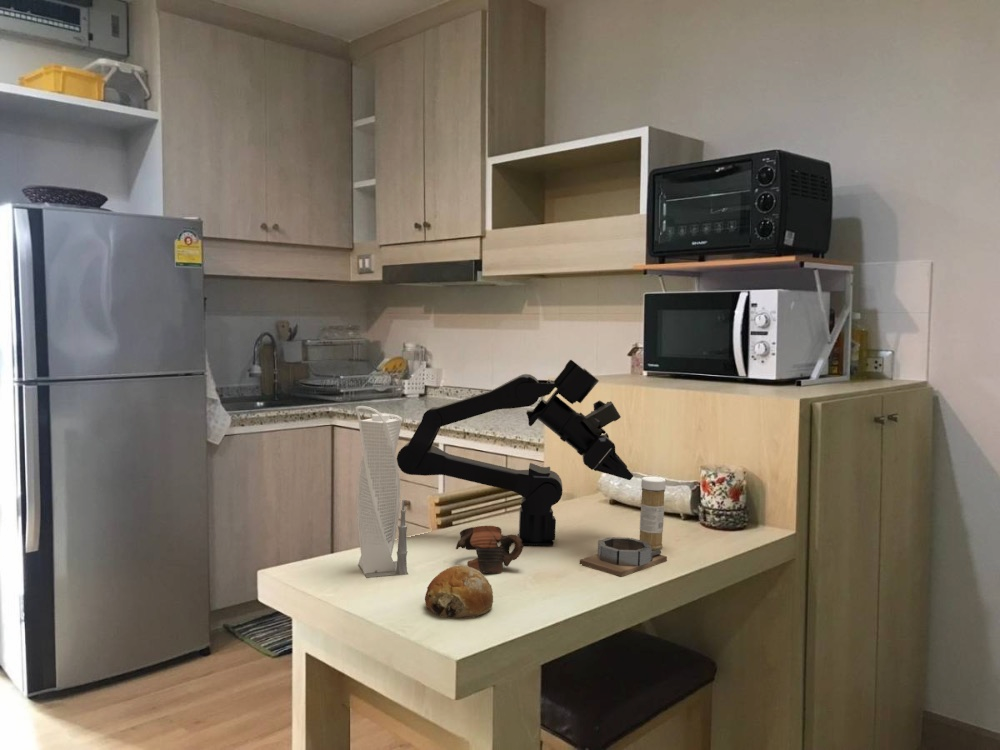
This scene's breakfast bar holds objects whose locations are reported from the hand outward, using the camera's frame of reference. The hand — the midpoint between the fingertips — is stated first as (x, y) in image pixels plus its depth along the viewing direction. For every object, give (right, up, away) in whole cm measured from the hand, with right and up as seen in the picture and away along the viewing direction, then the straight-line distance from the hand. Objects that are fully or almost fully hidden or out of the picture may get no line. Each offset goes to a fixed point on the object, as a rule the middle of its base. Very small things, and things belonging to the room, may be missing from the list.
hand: (628, 473), depth 155 cm
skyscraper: (-45, -14, -18) cm, 51 cm away
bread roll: (-31, -16, -35) cm, 49 cm away
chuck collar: (-2, -14, -9) cm, 17 cm away
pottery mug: (-26, -15, -15) cm, 34 cm away
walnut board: (-2, -15, -10) cm, 18 cm away
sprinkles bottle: (+4, -14, +1) cm, 15 cm away
